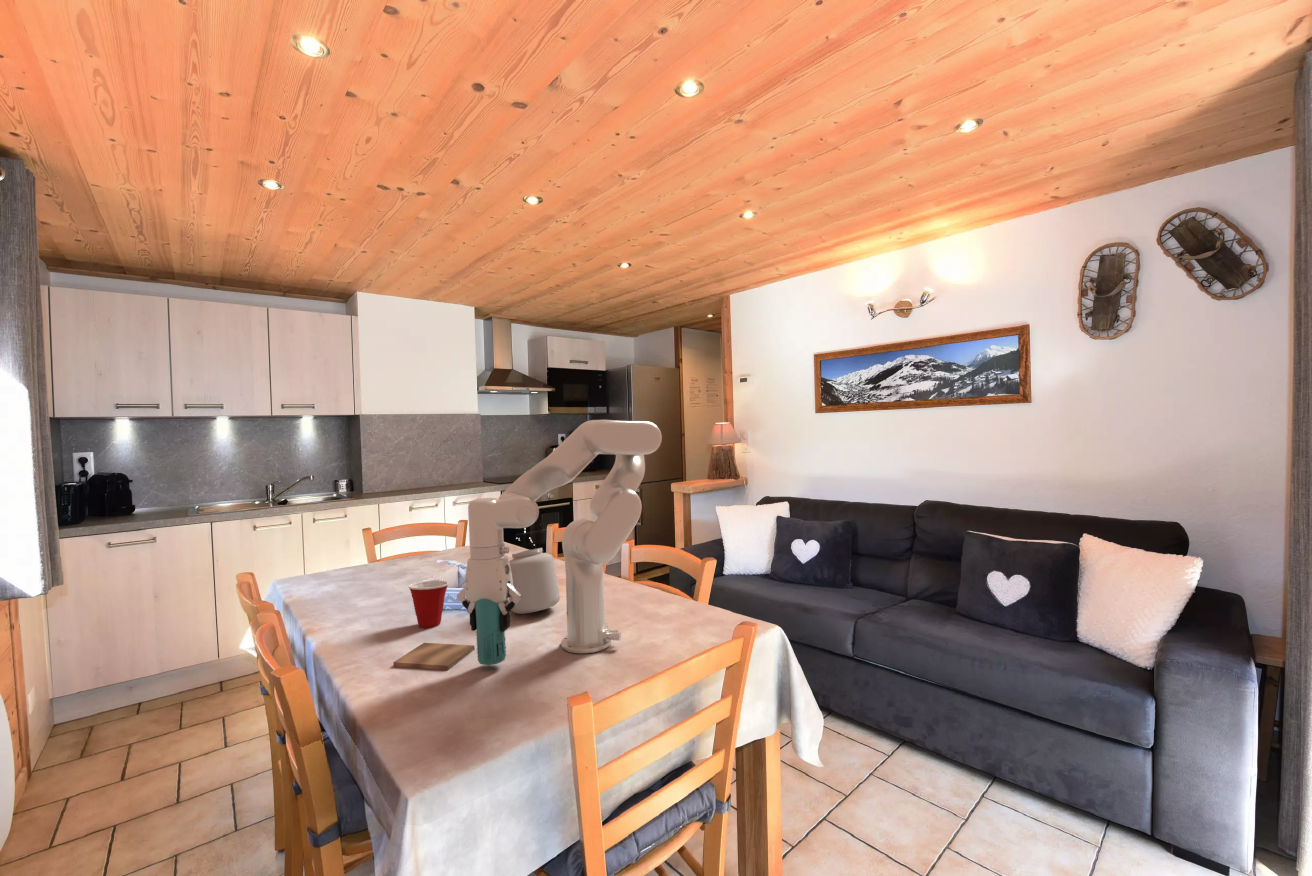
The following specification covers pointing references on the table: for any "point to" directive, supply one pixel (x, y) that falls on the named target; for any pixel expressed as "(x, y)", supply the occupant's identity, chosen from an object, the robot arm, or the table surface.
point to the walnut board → (434, 656)
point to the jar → (534, 580)
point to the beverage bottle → (489, 633)
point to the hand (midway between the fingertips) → (490, 628)
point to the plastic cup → (428, 601)
